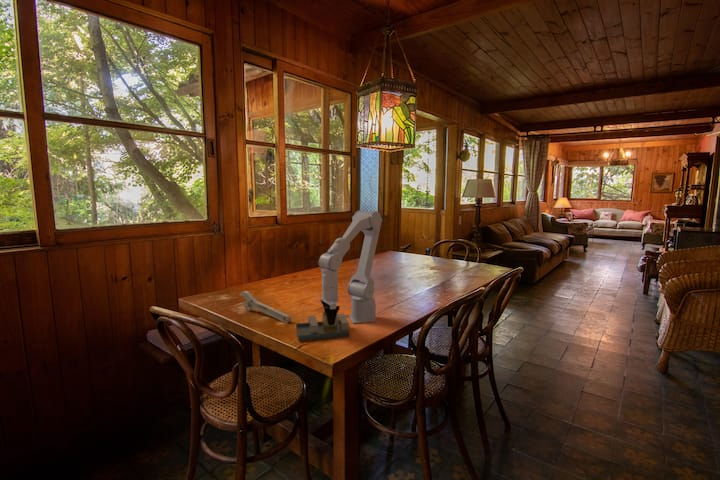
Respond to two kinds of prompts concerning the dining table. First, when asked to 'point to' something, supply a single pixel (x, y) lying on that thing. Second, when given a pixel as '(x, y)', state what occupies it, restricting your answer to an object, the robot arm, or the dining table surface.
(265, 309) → the wrench
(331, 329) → the brass block
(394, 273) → the dining table surface
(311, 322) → the bar
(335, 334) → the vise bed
